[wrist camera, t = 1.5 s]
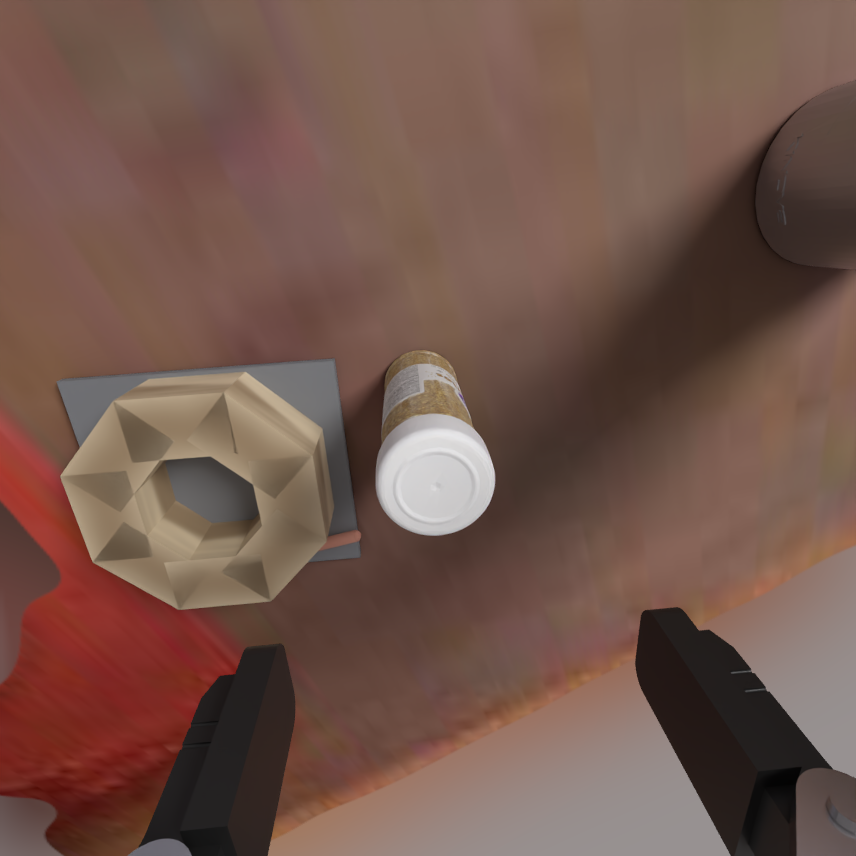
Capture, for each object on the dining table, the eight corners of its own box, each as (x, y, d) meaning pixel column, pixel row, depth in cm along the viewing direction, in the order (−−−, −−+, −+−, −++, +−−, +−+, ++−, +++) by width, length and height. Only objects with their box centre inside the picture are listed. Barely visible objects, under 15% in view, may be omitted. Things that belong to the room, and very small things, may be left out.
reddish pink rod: (359, 526, 34) (358, 533, 33) (362, 536, 34) (362, 542, 33) (178, 570, 34) (174, 577, 33) (183, 579, 34) (179, 586, 34)
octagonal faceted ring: (312, 366, 29) (301, 386, 26) (341, 556, 34) (335, 595, 31) (79, 384, 29) (33, 407, 25) (143, 573, 34) (112, 615, 30)
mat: (334, 358, 30) (333, 360, 29) (361, 552, 35) (360, 557, 35) (62, 379, 29) (56, 381, 29) (130, 572, 35) (126, 578, 34)
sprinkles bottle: (470, 390, 31) (520, 497, 19) (412, 431, 32) (423, 560, 20) (427, 332, 30) (451, 406, 17) (367, 376, 30) (348, 479, 18)
